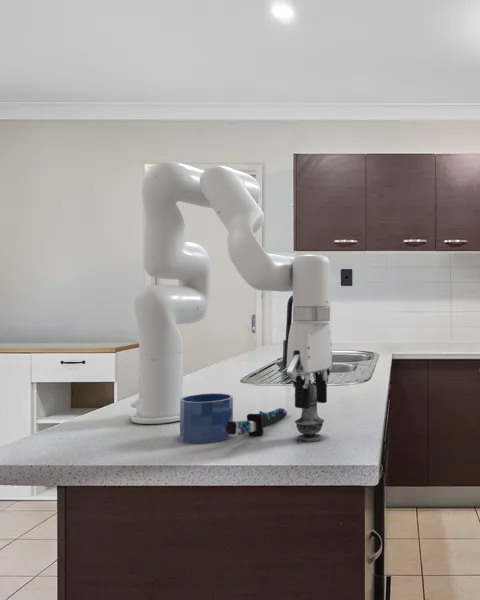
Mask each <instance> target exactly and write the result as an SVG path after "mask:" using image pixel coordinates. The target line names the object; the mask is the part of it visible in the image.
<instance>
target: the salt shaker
mask: <svg viewBox="0 0 480 600" xmlns="http://www.w3.org/2000/svg"><path fill="white" fill-rule="evenodd" d="M312 383H313V382H312V381H311V378H309V383H308V387H307V388H310V408H308V409H304V408H301V415H300V417H299V418H298V419H296V420H294V424H295V425H296V429H297V431H298V432H299V433H300V434H299V435H298V436H296V439H295V440H296V441H298V442H301V443H313V442H319V441H321V440H323V435H320V434H319V433H320V431H321V430H322V428H323V424H324V423H325V420H324V418H321V417H319V415H318V404H319V403H318V401H317V388H316V386H315V385H314V384H312Z"/></svg>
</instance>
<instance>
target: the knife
mask: <svg viewBox="0 0 480 600" xmlns="http://www.w3.org/2000/svg"><path fill="white" fill-rule="evenodd" d="M287 415H288V411H287V410H286V409H285V408H282V407H279V408H276V409H274V410H271V411H268V412H264V411H261V410H259V413H248V414H247V415H246V420H238V421H237V420H236V421H235V420H233V421H230V422H227V426H226V431H227V433H228V434H229V435H230V436H231V437H239V436H243V435H246V434H248V436H253V437H254V436H255V437H262V436H263V435H264V428H267V427H269V426H272V425H274V424H277V423H279V422H280V421H282V420H283V419H284V418H286V416H287Z"/></svg>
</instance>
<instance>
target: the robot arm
mask: <svg viewBox="0 0 480 600" xmlns="http://www.w3.org/2000/svg"><path fill="white" fill-rule="evenodd" d="M141 189H142V190H141V191H142V192H141V194H142V196H141V197H142V202H143V209H144V234H143V235H144V239H143V240H144V241H143V268H144V271H145V272H146V274H147V275H149V276H150V277H152V278H155V279H160V280H174V281H175V280H178V284H152V285H148V286H144V287H143V288H141V289H140V290H139V291H138V293H137V294H136V296H135V298H134V301H133V303H134V305H133V307H134V308H133V309H134V313H135V314H134V315H135V317H136V318H135V319H136V324H137V330H138V353H139V354H138V397H137V398H136V400H135V401H132V402H130V407H131V408H135V409H136V412H135V413H134V414H132V415H131V422H132V423H135V424H142V425H159V424H169V423H174V422H180V399H181V398H183V397H184V340H183V336H182V334H181V332H180V330H179V329H178V326H177V325H189V324H196V323H199V322H201V321H202V320H203V319H204V318H205V317H206V316H207V313H208V310H209V307H210V292H211V291H210V288H211V259H210V256H209V253H208V252H207V250H206V249H205V248H204V247H203V246H202V245H200V244H198V243H196V242H191V241H186V240H185V220H184V217H183V214H182V211H181V210H180V208H179V206H178V204H177V203H178V202H182V203H185V204H190V205H193V206H194V205H195V206H199V207H203V208H209V209H213V211H214V213H215V214H216V216H217V217H218V218H219V220H220V221H221V223H222V224H223V226H224V227H225V229H226V231H227V232H228V235H227V242H226V243H227V251H228V256H229V259H230V261H231V263H232V264H233V266H234V267H235V270H236V271H237V272H238V273H239V275H240V276H241V278H242V279H243V281H245V283H246V284H247V285H249V286H250V287H251V288H253V289H254V290H258V291H264V292H265V291H266V292H288V293H289V292H290V293H291V292H292V322H291V323H290V325H289V332H288V339H287V349H286V376H287V377H288V378H289V379H290V381H291V382H292V387H293V388H294V407H295V408H297V409H302V408H304V409H308V408H310V388H307V387H308V383H309V379H311V378H310V377H311V374H312V376H313V381H314V382H311V383H312V384H314V385H315V386H316V388H317V401H318V403H317V404H325V403H327V401H328V390H327V389H328V383H329V376H330V373H331V370H333V369H332V368H333V366H334V363H333V346H332V345H333V344H332V332H331V326H330V323H331V262H330V259H329V258H328V257H327V256H325V255H321V254H300V255H296V256H287V255H282V254H275V253H268V252H267V251H266V250H265V248H263V246H262V245H261V243H260V242H259V240H258V239H257V237H256V235H255V234H256V233H257V232H258V231H259V230H260V229H261V227H263V225H264V222H265V213H264V211H263V210H262V209H261V207H260V206H259V203H260V201H261V198H262V191H261V187H260V184H259V182H258V181H257V180H256V179H255V177H254V176H252V175H250V174H248V173H246V172H242V171H240V170H237V169H233V168H231V167H228V166H224V165H213V166H210V167H208V168H206V169H201V168H197V167H195V166H191V165H189V164H184V163H181V162H177V161H160V162H158V163H155V164H154V165H153V166H151V167H150V168H149V170H148V171H147V172H146V175H145V176H144V179H143V181H142V188H141ZM302 376H303V377H302Z"/></svg>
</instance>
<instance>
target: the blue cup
mask: <svg viewBox="0 0 480 600" xmlns="http://www.w3.org/2000/svg"><path fill="white" fill-rule="evenodd" d="M230 421H234V397H233V394H229V393H220V392H219V393H216V392H215V393H198V394H191V395H186V396H183V398H181V399H180V421H179V440H180V441H181V442H183V443H186V444H210V443H216V442H221V441H226V440H227V439H228V440H229V439H230V438H231V437H232V436H230V435H229V434H228V433H227V431H226V426H227V422H230Z"/></svg>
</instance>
